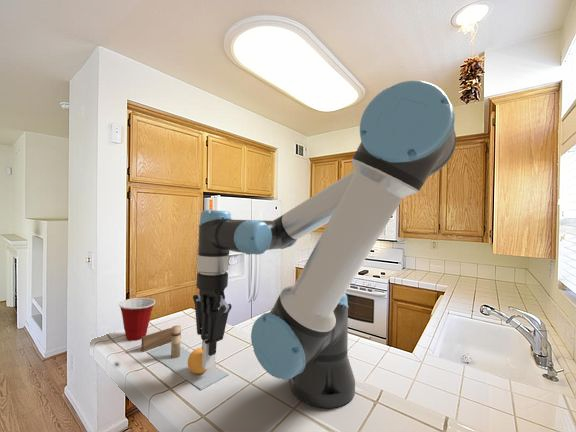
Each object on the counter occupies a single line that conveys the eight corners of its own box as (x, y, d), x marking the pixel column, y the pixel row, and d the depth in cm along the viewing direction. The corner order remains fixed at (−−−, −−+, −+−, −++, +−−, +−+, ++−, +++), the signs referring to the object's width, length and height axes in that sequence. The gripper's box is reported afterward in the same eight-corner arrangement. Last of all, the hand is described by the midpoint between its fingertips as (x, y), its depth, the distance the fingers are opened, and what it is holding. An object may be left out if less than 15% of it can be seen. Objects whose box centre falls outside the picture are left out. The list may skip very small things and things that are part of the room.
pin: (181, 356, 75) (182, 326, 76) (173, 360, 74) (174, 329, 74) (177, 353, 77) (178, 324, 77) (169, 357, 75) (169, 327, 75)
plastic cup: (138, 346, 82) (139, 307, 82) (109, 342, 84) (110, 305, 84) (161, 332, 92) (162, 298, 93) (135, 329, 94) (136, 296, 95)
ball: (219, 356, 68) (207, 339, 71) (198, 366, 63) (187, 347, 66) (212, 372, 69) (200, 355, 73) (191, 383, 65) (180, 364, 68)
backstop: (172, 341, 85) (172, 329, 85) (143, 351, 78) (143, 338, 78) (170, 340, 86) (170, 327, 86) (141, 350, 79) (141, 336, 79)
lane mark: (228, 374, 67) (228, 374, 67) (201, 390, 60) (201, 389, 60) (173, 343, 84) (173, 342, 84) (147, 352, 78) (147, 351, 78)
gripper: (241, 274, 64) (237, 370, 64) (210, 266, 72) (205, 351, 72) (216, 278, 59) (211, 384, 58) (185, 269, 67) (180, 362, 66)
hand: (208, 365), depth 65 cm, fingers closed
